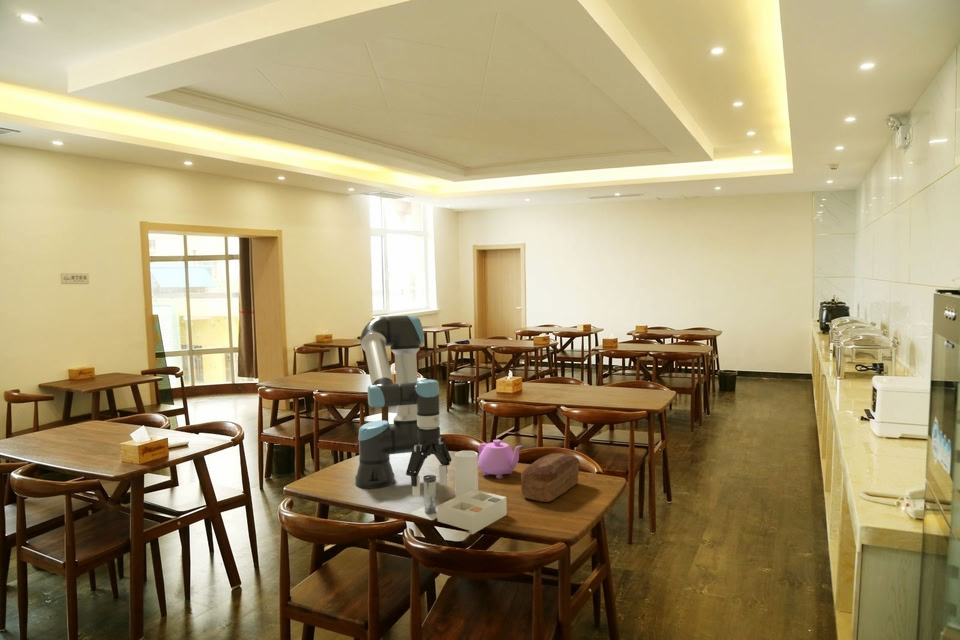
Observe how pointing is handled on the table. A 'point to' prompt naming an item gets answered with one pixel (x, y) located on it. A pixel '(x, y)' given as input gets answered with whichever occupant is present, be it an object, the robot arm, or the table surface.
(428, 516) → the white flat square plate
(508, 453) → the teapot
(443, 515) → the socket block
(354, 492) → the table surface
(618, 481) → the table surface
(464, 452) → the cup
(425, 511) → the plug
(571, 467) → the bread
